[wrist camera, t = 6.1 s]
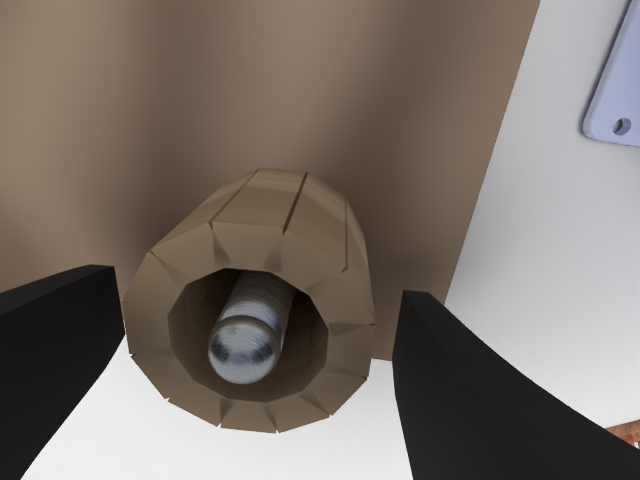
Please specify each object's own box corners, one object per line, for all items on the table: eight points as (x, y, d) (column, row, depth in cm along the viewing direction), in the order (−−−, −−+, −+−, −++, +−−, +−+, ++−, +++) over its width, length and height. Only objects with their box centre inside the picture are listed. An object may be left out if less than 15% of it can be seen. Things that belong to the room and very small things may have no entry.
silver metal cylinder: (306, 231, 13) (279, 345, 7) (300, 272, 14) (271, 406, 8) (259, 223, 13) (197, 332, 7) (256, 265, 14) (195, 394, 8)
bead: (372, 176, 12) (389, 236, 8) (353, 324, 14) (358, 441, 10) (196, 161, 12) (107, 212, 8) (204, 310, 14) (139, 419, 10)
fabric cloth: (599, -268, 9) (645, -329, 8) (417, 341, 16) (424, 366, 15) (-151, -388, 9) (-239, -470, 8) (-7, 276, 16) (-39, 294, 15)
